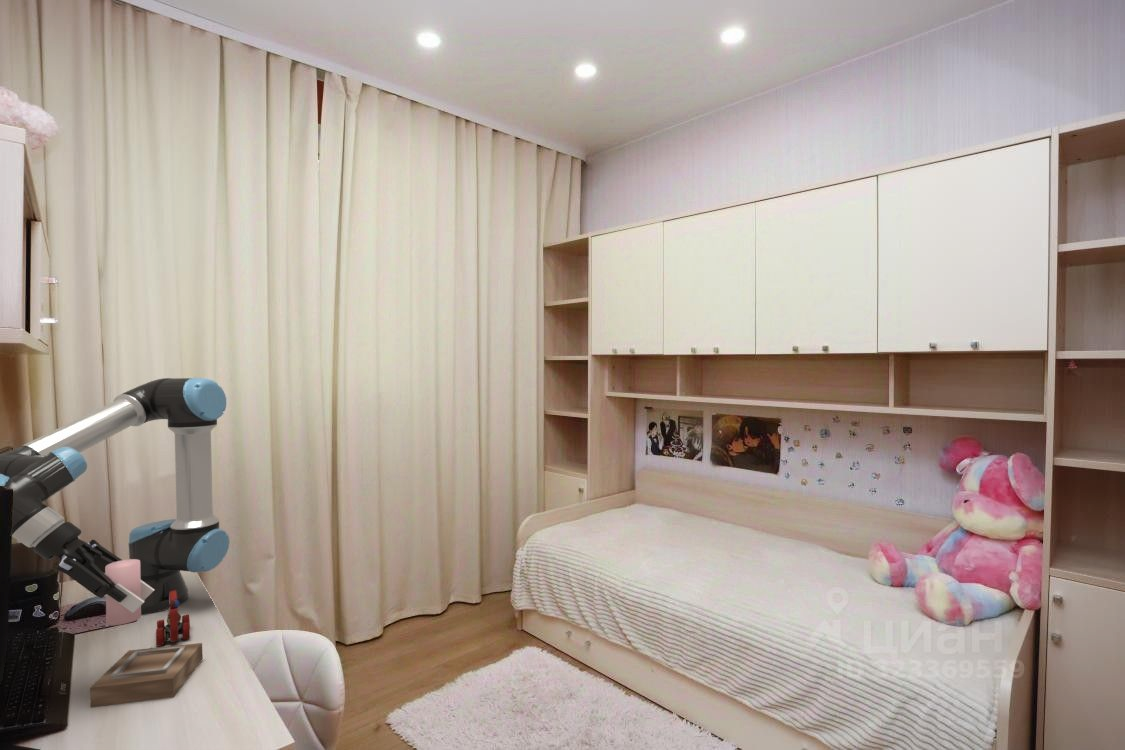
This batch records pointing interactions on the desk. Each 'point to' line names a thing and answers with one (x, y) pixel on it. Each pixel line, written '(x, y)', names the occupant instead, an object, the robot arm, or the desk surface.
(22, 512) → the robot arm
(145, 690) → the walnut base
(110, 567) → the rose cylinder
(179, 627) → the toy fire truck
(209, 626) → the desk surface
